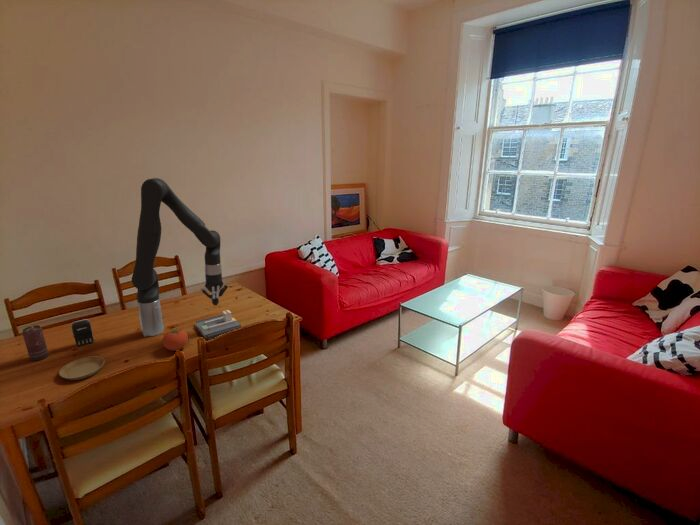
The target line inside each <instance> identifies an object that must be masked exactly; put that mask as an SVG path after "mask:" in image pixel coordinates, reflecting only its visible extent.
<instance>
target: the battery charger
mask: <svg viewBox="0 0 700 525" xmlns="http://www.w3.org/2000/svg"><path fill="white" fill-rule="evenodd" d="M71 330H72V331H71V332H72V336H73V338H74V341H75V346H77V347H80V346H86V345H90V344H92V343H94V341H95V339H94V335H93V328H92V324H91V321H90V320H89V319H87V318H84V319H81V320H76V321H73V322H72V323H71Z"/></svg>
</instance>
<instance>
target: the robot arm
mask: <svg viewBox="0 0 700 525" xmlns="http://www.w3.org/2000/svg"><path fill="white" fill-rule="evenodd" d="M162 203H163V204H164V205H166V206H167V208H169V209H170V210H171V211H172V213H173V214H174V215H175V216H176V218H177V219H178V220H179V221H180V223H182V225H184V227H185V228H186V229H187V230H189V231H190V232H191V233H193V234H194V237H196V239H197V240H198V241H199V242H200V243H201V245H203V246H204V247H205V253H204V274H205V285H204V287H203V288H201V289H200V291H201V293H203V294H204V295H205V296H206V297H207V298H208V299H211V304H212V305H213V306H218V304H219V298H220V297H222V296H223V295H224V293H225V292H226V291H227V289H228V287H229V286H228V285H227V284H224V282H223V274H222V273H223V272H222V263H221V236H220V233H219V232H218V231H216V230H213V229H212V230H209V228H208V227H207V226H206V223H205V222H204V221H203V220H202V219H201V218H200V217H199V216H198V215H197V214H196V213H195V212H194V211H192V210H191V209H190V208H189V207H188V206H187V205H186V204H185V203H184V202H183V201H182V200H181V199H180V198H179V197H178V196H177V194H176V193H175V192H174V191H173V189H172V188H170V186H169V185H168V183H167V182H166V181H165V180H164V179H161V178H158V177H153V178H148V179H145V180H144V181H143V182H142V184H141V187H140V206H141V207H140V214H139V221H138V227H137V236H136V247H135V248H136V252H135V254H136V255H135V264H134V266H133V272H132V274H131V283H132V285H133V286H134V288H135V289H137V293H136V301H137V308H138V312H139V313H138V317H139V318H138V319H139V323H140V324H139V325H140V328H141V334H142V335H143V337H145V338H146V337H154V336H158V335H160V334H162V333H163V332H164V330H165V328H164V327H165V326H164V320H163V314H162V307H161V300H160V286H159V285H160V284H159V276H158V272H157V271H156V269H155V268H154V266H155V265H154V264H155V259H156V257H157V254H158V251H159V248H160V244H161V237H162V222H161V216H160V208H161V205H162ZM208 291H209V292H210V293H208Z"/></svg>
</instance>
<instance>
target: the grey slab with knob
mask: <svg viewBox="0 0 700 525" xmlns="http://www.w3.org/2000/svg"><path fill="white" fill-rule="evenodd" d="M221 316H223V313H222V314H219V315H216V316H212V317H211V316H210V317H208V318H204V319H200V320H196V321H195V323H198V322H202V321H205V320H209V319H213V318H217V317H221ZM238 328H241V329H242V326H241V327H240V326H237V327H234V328H230V329H227V330H223V331H220V332H216V333H213V334H209V335H207V338H208V339H207V338H206V339H207V340H208V341H210V340H213V338H214V339H216V338H215V337H217V336H219V335H221V334H224V333H227V332H229V331H232V330H234V329H238ZM217 338H218V337H217Z"/></svg>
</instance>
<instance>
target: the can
mask: <svg viewBox="0 0 700 525" xmlns="http://www.w3.org/2000/svg"><path fill="white" fill-rule="evenodd" d="M21 334H22V336H23V340H24V341H23V342H24V344H25V348H26V351H27V353H28V354H27V355H28V358H29V360H30V361H32V362H39V361H42V360H44V359H46V358H48V356H49V351H48V346H47V343H46V339H45V336H44V331H43V327H41V326H40V325H30V326H28V327H25V328H24V329H22V333H21Z"/></svg>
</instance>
